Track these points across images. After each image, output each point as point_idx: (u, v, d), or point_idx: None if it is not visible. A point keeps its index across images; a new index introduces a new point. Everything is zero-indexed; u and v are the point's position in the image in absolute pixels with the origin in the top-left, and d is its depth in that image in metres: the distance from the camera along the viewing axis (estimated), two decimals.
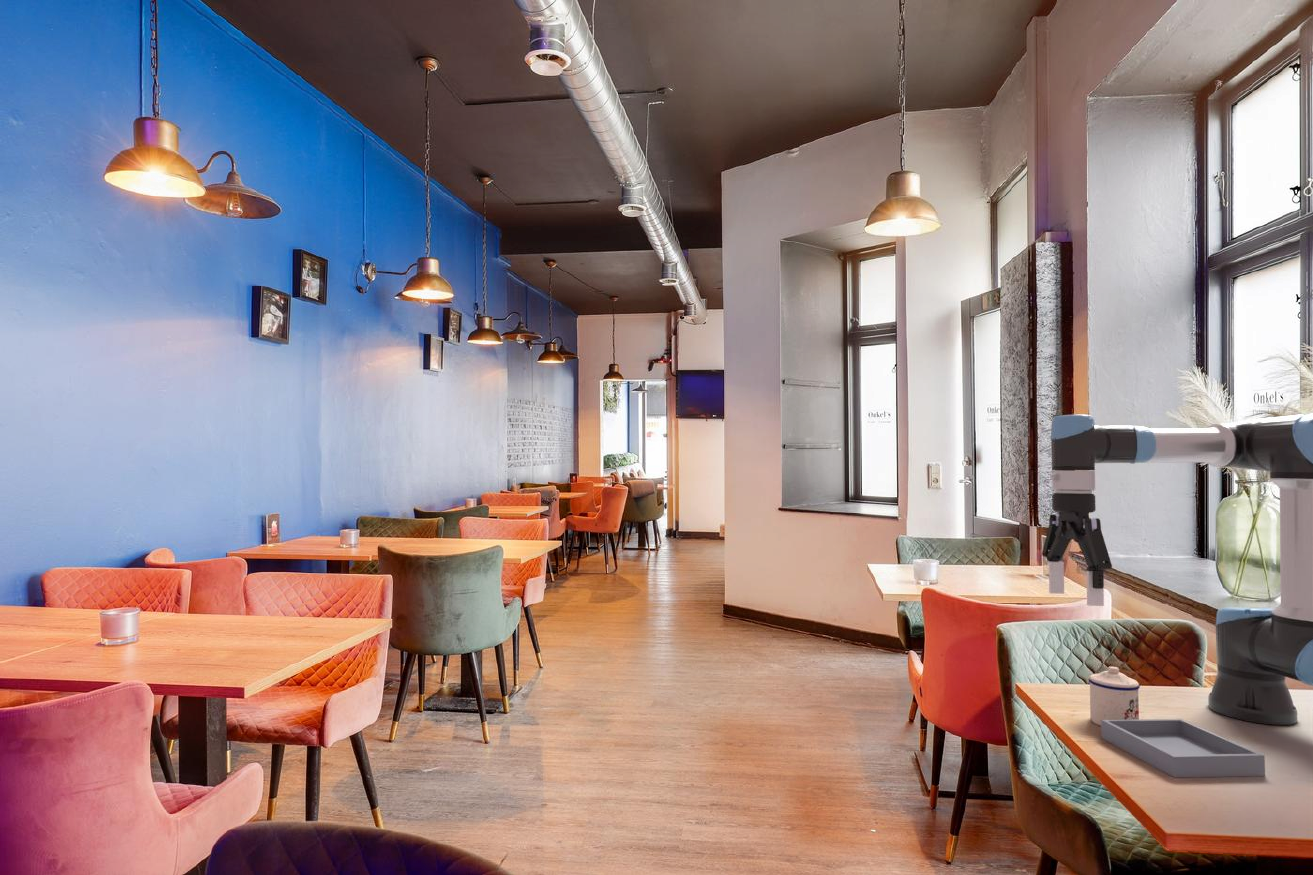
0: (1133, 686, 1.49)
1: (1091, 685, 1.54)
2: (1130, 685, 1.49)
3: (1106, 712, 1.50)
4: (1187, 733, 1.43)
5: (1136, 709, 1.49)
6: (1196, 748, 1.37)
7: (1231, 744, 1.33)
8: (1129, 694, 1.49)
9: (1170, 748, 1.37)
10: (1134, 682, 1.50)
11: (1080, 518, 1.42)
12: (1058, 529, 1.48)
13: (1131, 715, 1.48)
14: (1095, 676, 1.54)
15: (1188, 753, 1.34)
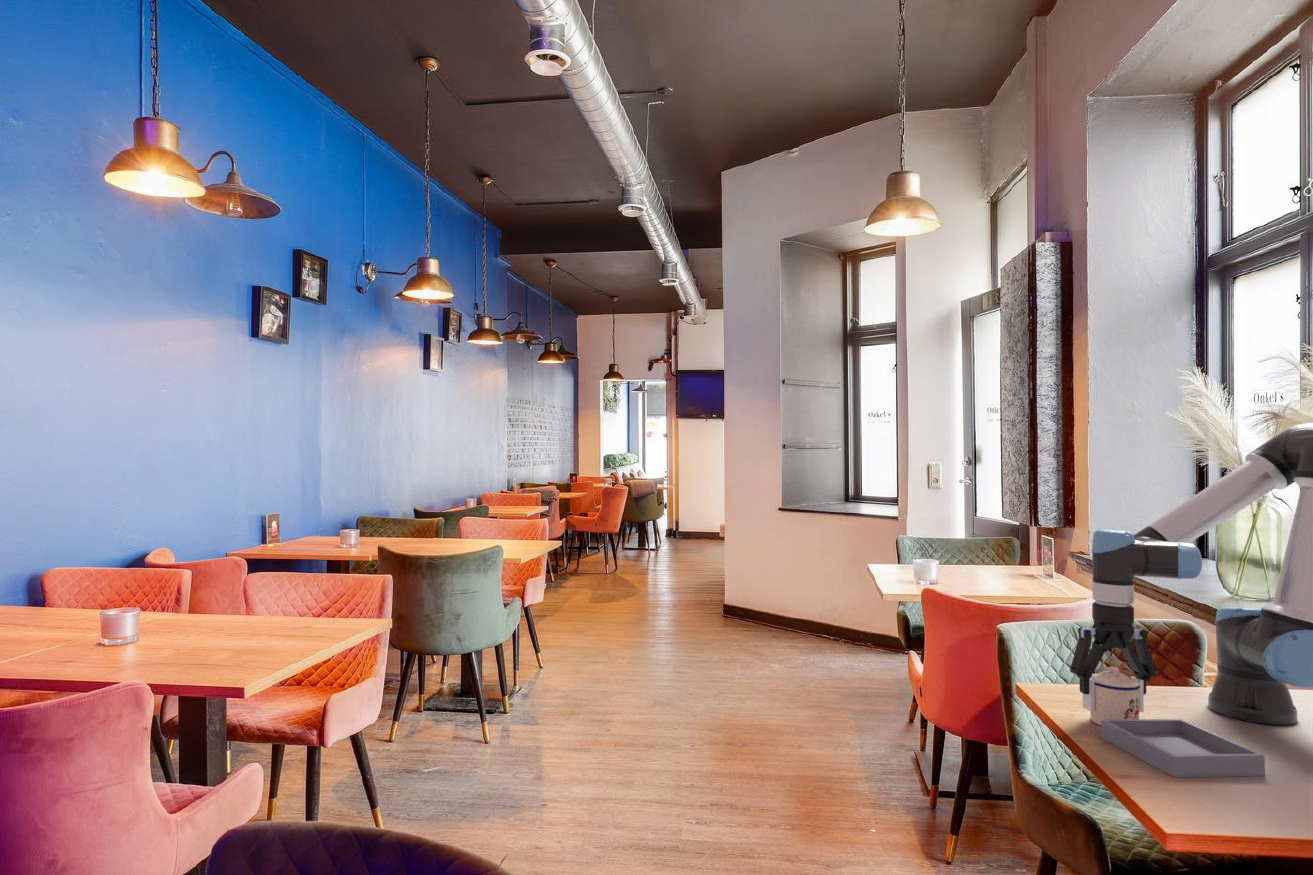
0: (1133, 686, 1.49)
1: None
2: (1130, 685, 1.49)
3: (1106, 712, 1.50)
4: (1187, 733, 1.43)
5: (1136, 709, 1.49)
6: (1196, 748, 1.37)
7: (1231, 744, 1.33)
8: (1129, 694, 1.49)
9: (1170, 748, 1.37)
10: (1134, 682, 1.50)
11: None
12: None
13: (1131, 715, 1.48)
14: (1095, 676, 1.54)
15: (1188, 753, 1.34)
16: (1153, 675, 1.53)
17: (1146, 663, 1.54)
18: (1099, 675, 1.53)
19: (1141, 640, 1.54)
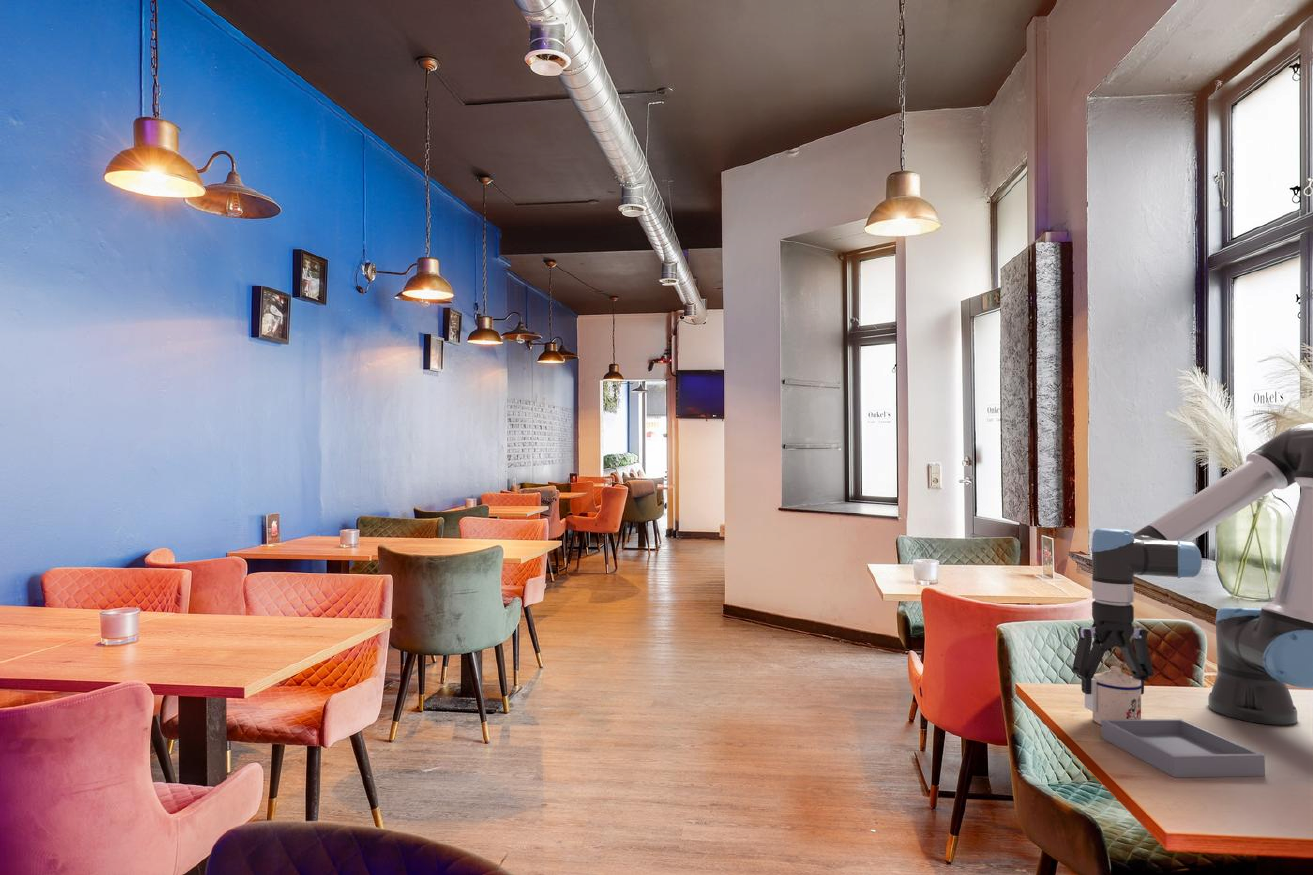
0: (1135, 686, 1.49)
1: None
2: (1132, 685, 1.49)
3: (1108, 711, 1.50)
4: (1187, 733, 1.43)
5: (1138, 709, 1.49)
6: (1196, 748, 1.37)
7: (1231, 744, 1.33)
8: (1131, 694, 1.49)
9: (1170, 748, 1.37)
10: (1136, 682, 1.50)
11: (1092, 625, 1.55)
12: None
13: (1133, 715, 1.48)
14: (1097, 676, 1.54)
15: (1188, 753, 1.34)
16: (1151, 675, 1.53)
17: (1144, 663, 1.54)
18: (1101, 675, 1.53)
19: (1140, 639, 1.54)
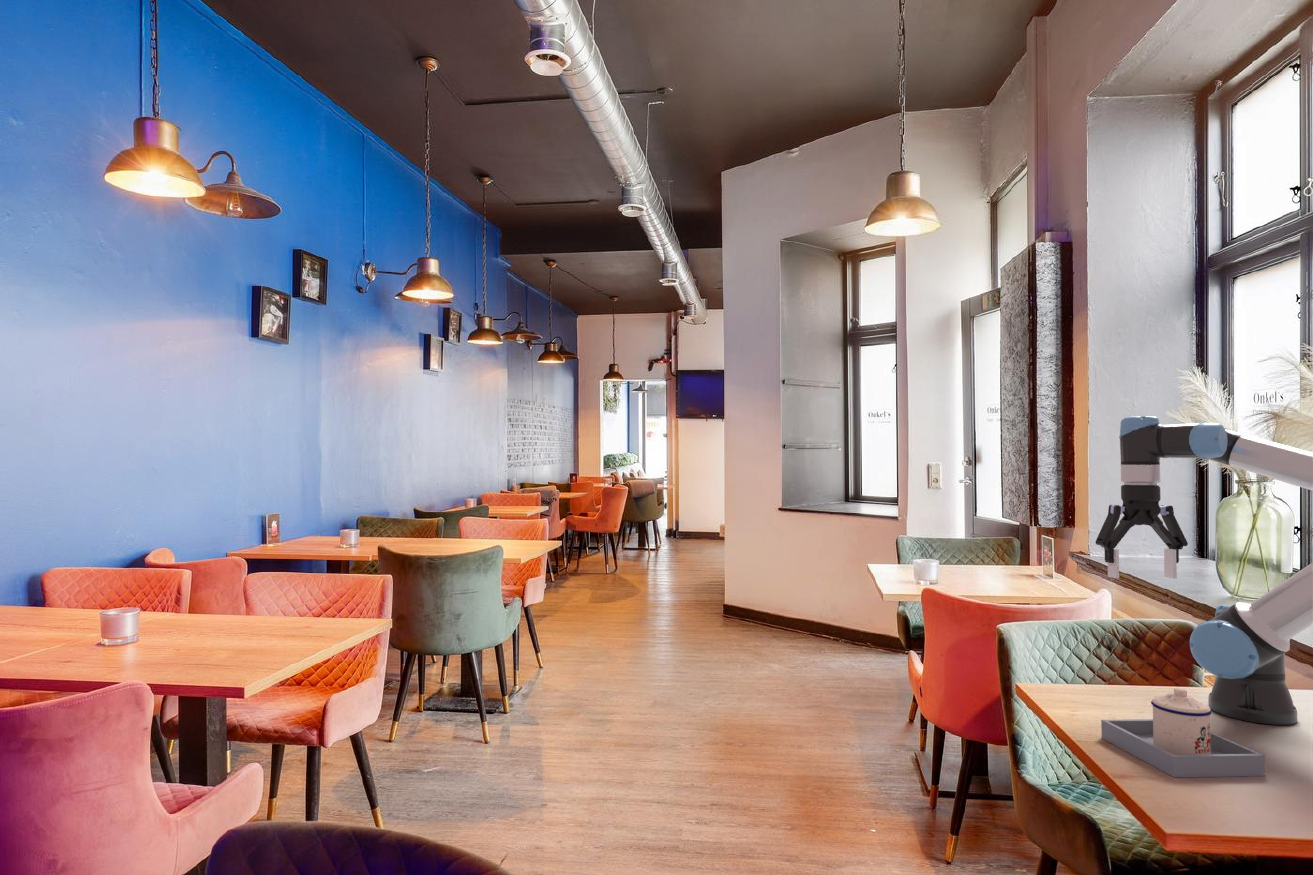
0: (1205, 711, 1.31)
1: (1155, 709, 1.36)
2: (1201, 710, 1.31)
3: (1173, 740, 1.32)
4: None
5: (1208, 737, 1.31)
6: None
7: (1231, 744, 1.33)
8: (1200, 721, 1.31)
9: None
10: (1205, 706, 1.32)
11: None
12: None
13: (1202, 744, 1.30)
14: (1159, 699, 1.36)
15: None
16: (1185, 545, 1.65)
17: (1177, 535, 1.66)
18: (1164, 698, 1.35)
19: (1168, 515, 1.66)
